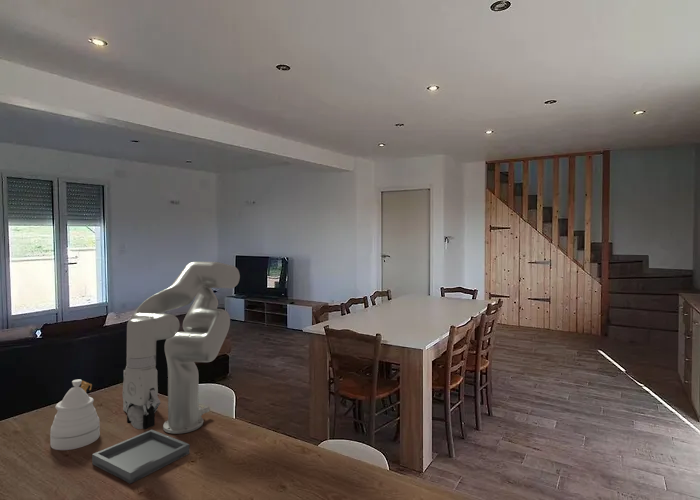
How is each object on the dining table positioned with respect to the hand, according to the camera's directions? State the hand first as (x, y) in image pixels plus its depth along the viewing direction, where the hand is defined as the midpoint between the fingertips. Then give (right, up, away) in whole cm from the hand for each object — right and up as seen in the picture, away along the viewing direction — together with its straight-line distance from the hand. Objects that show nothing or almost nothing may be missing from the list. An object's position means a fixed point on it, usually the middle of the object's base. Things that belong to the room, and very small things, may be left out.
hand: (140, 424), depth 119 cm
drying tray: (0, -10, +1) cm, 10 cm away
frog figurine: (0, -1, 0) cm, 1 cm away
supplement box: (-17, -10, +34) cm, 40 cm away
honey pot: (-26, -10, +12) cm, 30 cm away
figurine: (-37, -9, +31) cm, 49 cm away
